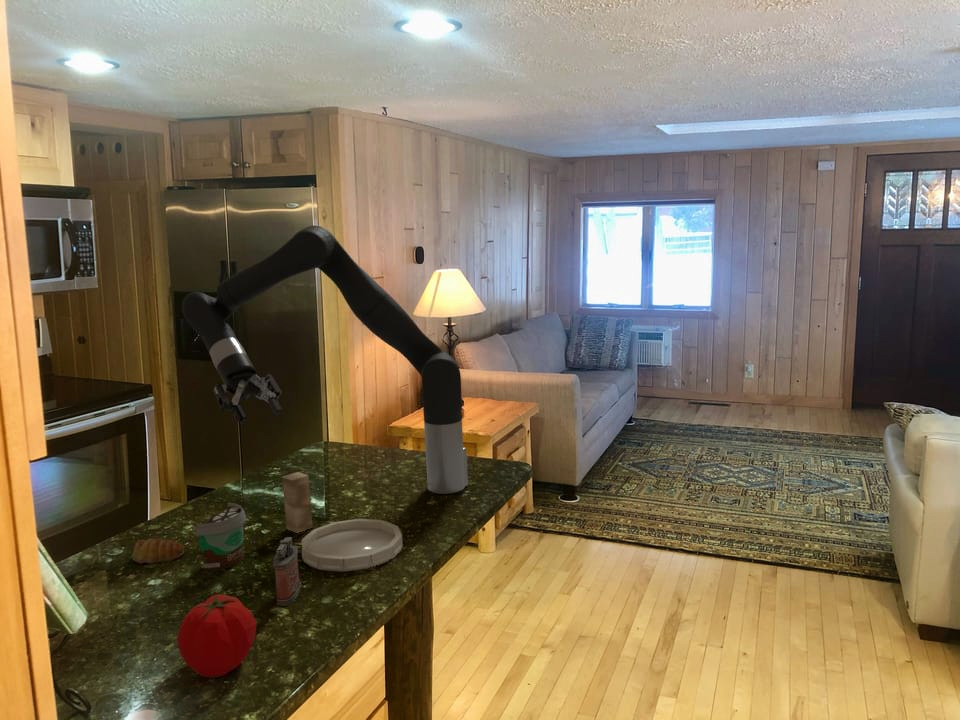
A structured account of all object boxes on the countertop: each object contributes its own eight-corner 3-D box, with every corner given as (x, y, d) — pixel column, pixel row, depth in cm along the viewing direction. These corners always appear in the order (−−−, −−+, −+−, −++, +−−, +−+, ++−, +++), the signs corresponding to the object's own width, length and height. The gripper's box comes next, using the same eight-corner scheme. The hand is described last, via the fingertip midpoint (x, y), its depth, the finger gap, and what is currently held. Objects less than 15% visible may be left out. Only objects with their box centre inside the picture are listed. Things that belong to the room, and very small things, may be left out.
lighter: (285, 584, 140) (281, 532, 138) (304, 583, 140) (299, 532, 138) (272, 605, 132) (267, 551, 131) (292, 605, 132) (287, 550, 130)
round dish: (362, 522, 168) (362, 511, 168) (422, 546, 154) (421, 534, 154) (282, 552, 154) (281, 540, 154) (340, 581, 140) (339, 568, 140)
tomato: (172, 695, 108) (164, 628, 106) (190, 647, 120) (183, 586, 118) (254, 684, 109) (247, 618, 108) (263, 638, 122) (258, 578, 120)
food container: (230, 576, 144) (224, 526, 143) (200, 574, 145) (195, 525, 144) (261, 549, 156) (256, 502, 154) (233, 548, 157) (228, 501, 156)
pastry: (188, 549, 158) (186, 531, 158) (179, 563, 152) (177, 545, 151) (141, 552, 157) (139, 535, 157) (130, 567, 151) (128, 548, 150)
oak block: (302, 523, 169) (298, 471, 167) (312, 528, 166) (308, 475, 164) (286, 529, 166) (282, 476, 164) (296, 534, 163) (292, 480, 161)
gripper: (206, 356, 169) (236, 414, 163) (264, 347, 179) (294, 401, 173) (198, 377, 174) (227, 433, 168) (255, 367, 184) (284, 421, 178)
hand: (261, 417), depth 171 cm, fingers open, 8 cm apart
